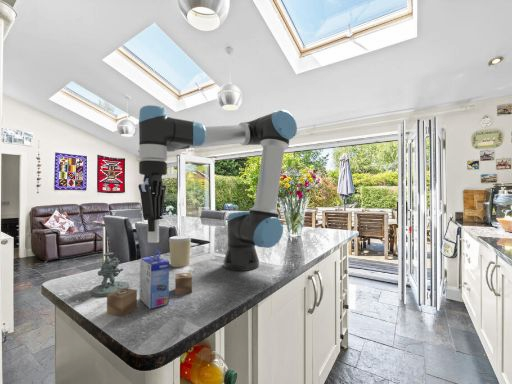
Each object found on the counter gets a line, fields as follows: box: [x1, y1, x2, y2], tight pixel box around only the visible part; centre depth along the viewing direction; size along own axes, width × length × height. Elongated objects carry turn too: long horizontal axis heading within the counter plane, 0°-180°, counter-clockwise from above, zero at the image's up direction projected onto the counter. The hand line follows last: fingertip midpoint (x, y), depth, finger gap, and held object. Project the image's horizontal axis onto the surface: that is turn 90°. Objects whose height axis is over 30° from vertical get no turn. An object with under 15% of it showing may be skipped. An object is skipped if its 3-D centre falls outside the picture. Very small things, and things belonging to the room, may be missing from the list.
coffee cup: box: [168, 235, 192, 268], centre depth 110 cm, size 9×9×12 cm
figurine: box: [90, 251, 130, 298], centre depth 82 cm, size 11×11×12 cm
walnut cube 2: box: [174, 271, 193, 296], centre depth 81 cm, size 5×5×5 cm
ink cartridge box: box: [138, 249, 170, 310], centre depth 73 cm, size 10×6×14 cm, turn 41°
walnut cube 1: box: [106, 288, 138, 317], centre depth 68 cm, size 5×5×5 cm
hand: (153, 242), depth 73 cm, fingers closed
